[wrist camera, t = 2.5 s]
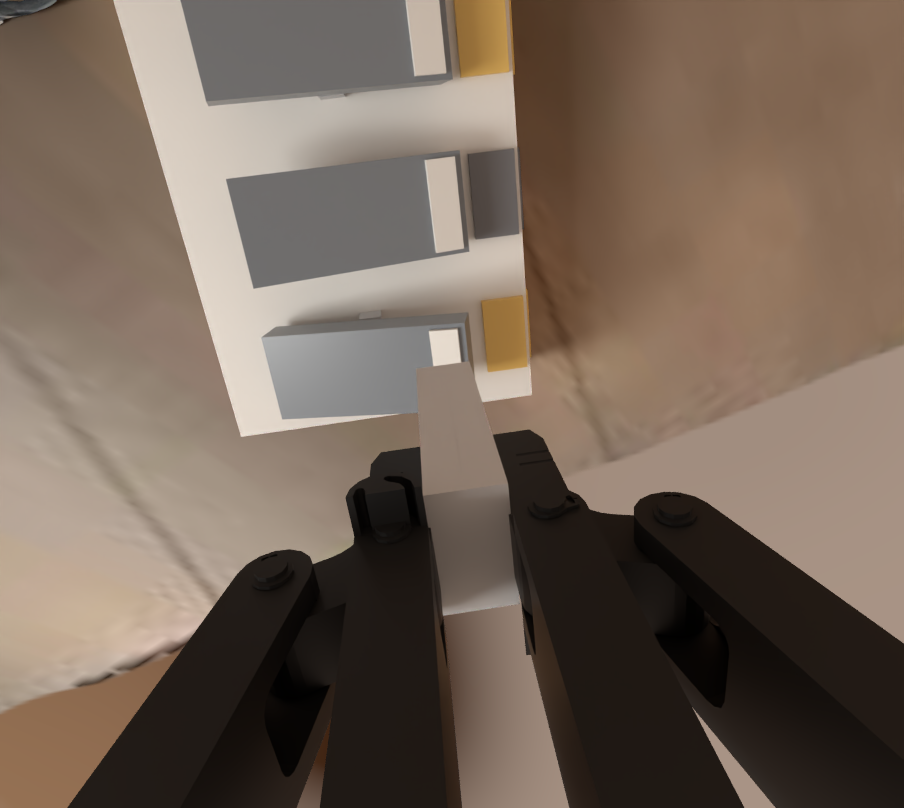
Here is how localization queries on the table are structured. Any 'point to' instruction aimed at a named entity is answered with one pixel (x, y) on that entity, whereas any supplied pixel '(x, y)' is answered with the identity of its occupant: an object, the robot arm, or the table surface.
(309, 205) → the block
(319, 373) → the rocker
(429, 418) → the robot arm
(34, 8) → the electronic device
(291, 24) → the block
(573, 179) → the table surface
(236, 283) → the switch unit
